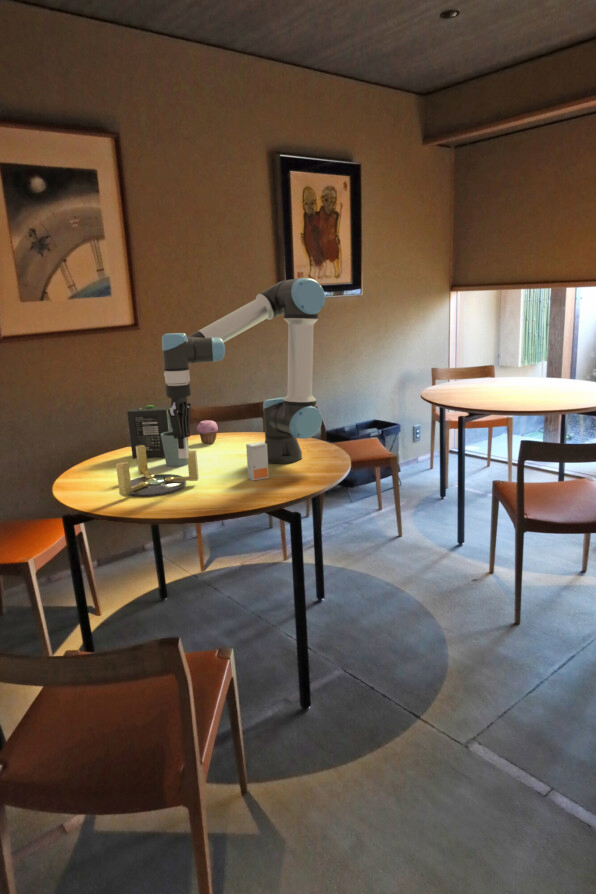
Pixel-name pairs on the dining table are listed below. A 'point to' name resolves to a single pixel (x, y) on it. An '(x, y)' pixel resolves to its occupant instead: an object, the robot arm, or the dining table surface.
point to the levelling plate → (157, 486)
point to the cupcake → (207, 431)
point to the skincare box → (257, 461)
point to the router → (148, 429)
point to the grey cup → (172, 450)
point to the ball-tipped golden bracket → (127, 479)
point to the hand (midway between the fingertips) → (183, 457)
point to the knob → (143, 462)
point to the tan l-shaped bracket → (191, 467)
